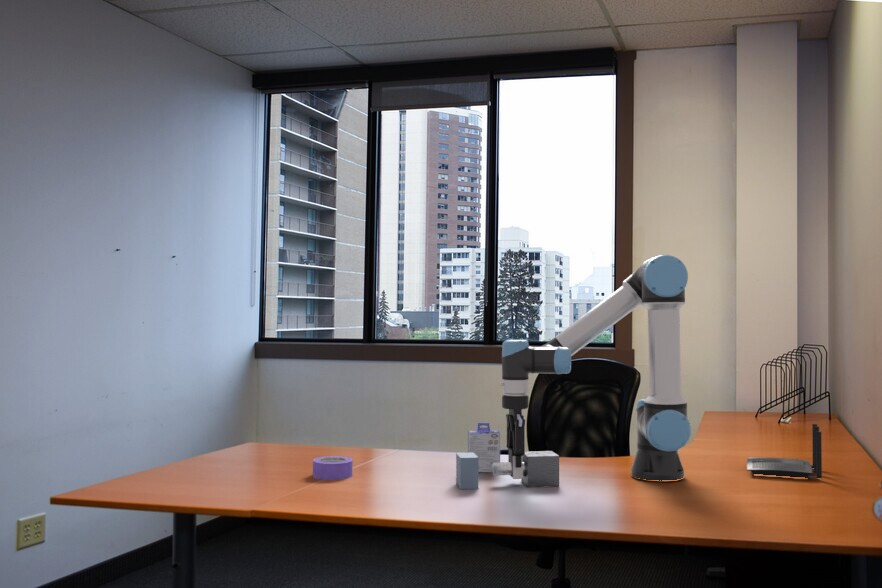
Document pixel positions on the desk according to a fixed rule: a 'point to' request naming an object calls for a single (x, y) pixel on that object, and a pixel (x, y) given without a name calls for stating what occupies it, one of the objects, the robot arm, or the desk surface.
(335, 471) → the tape roll
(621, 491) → the desk surface
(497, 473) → the metal rod with block
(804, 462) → the router
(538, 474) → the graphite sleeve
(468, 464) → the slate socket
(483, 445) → the ink cartridge box
